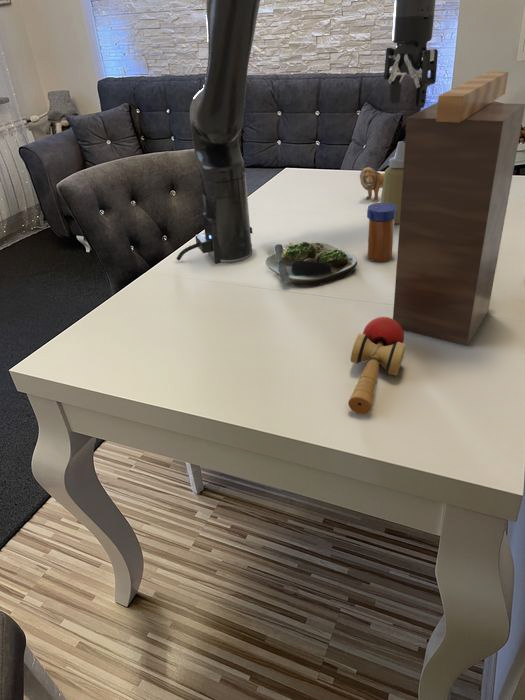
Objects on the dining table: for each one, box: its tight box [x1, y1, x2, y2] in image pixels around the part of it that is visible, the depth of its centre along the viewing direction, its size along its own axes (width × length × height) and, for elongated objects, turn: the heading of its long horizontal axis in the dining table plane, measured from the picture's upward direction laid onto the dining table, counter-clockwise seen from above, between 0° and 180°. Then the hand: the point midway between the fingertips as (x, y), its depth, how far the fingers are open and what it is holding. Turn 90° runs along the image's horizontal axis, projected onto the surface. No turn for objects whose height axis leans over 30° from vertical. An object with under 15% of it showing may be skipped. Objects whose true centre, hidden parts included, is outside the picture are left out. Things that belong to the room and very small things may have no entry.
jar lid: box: [366, 202, 397, 221], centre depth 106 cm, size 6×6×2 cm
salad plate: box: [264, 241, 358, 287], centre depth 109 cm, size 19×18×5 cm
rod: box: [436, 71, 509, 123], centre depth 72 cm, size 22×3×3 cm, turn 146°
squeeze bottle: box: [379, 140, 405, 224], centre depth 124 cm, size 8×8×18 cm
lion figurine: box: [359, 166, 385, 203], centre depth 141 cm, size 15×5×9 cm, turn 118°
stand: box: [392, 101, 525, 347], centre depth 80 cm, size 12×12×32 cm
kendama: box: [347, 316, 407, 415], centre depth 75 cm, size 8×6×18 cm
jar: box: [367, 219, 395, 263], centre depth 108 cm, size 5×5×10 cm
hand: (406, 105), depth 111 cm, fingers open, 8 cm apart
